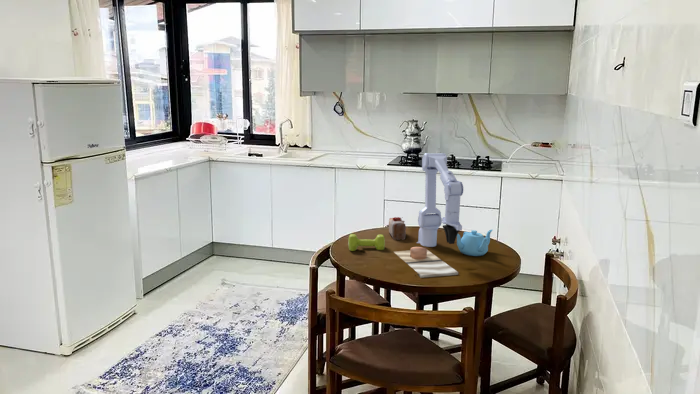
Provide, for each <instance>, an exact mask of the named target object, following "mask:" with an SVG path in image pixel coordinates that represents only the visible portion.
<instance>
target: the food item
mask: <svg viewBox="0 0 700 394" xmlns="http://www.w3.org/2000/svg"><path fill="white" fill-rule="evenodd" d="M402 218H403V217H398V216H397V217H396V216H395V217H390V218H389V220H388V233H389V234H390V236H391V238H392V239H393V240H395V241H396V239H397V240H399V241H400V239H402V240H405V239H406V233H407V232H406V229H407V227H406V226H407V225H406V223H405V220H402Z"/></svg>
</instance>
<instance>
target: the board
mask: <svg viewBox="0 0 700 394" xmlns="http://www.w3.org/2000/svg"><path fill="white" fill-rule="evenodd" d="M393 253H394V254H395V255H396V256H397V257H398V258H399V259H401V260H402V261H403V262H405V264H407V265H408V266H409V267H410V268H411V269H413V270H414V271H415V272H416V275H417V276H418V277H419V278H420V279H422V278H423V279H424V278H435V277H445V276H447V277H448V276H457V275H459V271H457V269H455V268H453V267H452V266H451V265H449V264H447V263H446V262H445V261H443V260H442V259H441V258H440V257H438V256H437V255H435V254H434V253H432V252H431V251H430V250H428V249H427V258H426V259H421V260H419V259H413V258H411V257H410V250H399V251H397V250H395V251H393Z"/></svg>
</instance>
